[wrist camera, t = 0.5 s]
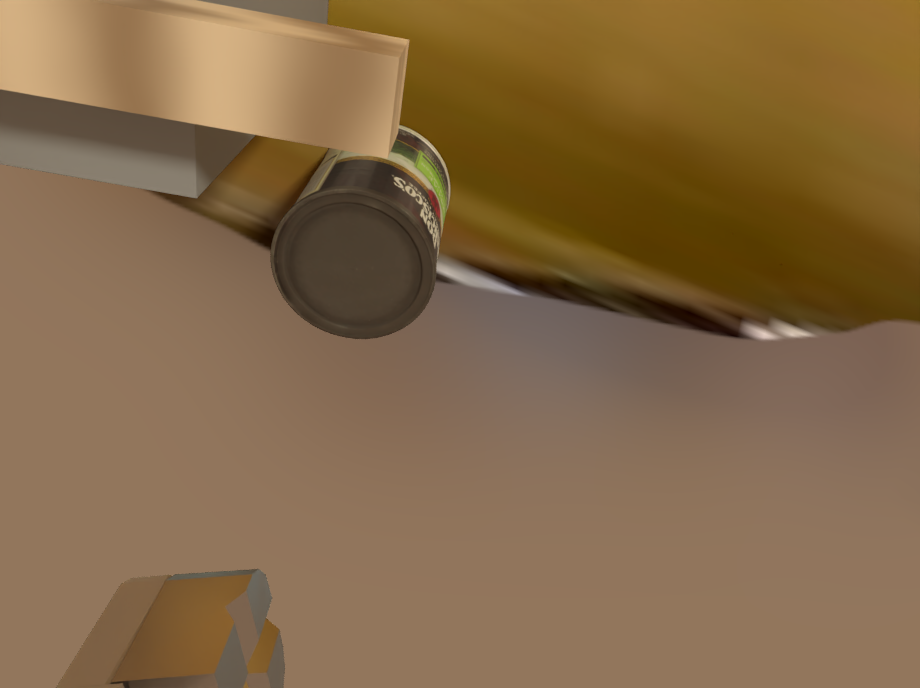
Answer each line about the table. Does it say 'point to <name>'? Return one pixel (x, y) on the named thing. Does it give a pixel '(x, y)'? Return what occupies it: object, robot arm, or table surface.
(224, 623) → the robot arm
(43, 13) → the beech bar
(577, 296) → the table surface
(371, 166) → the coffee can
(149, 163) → the pedestal
